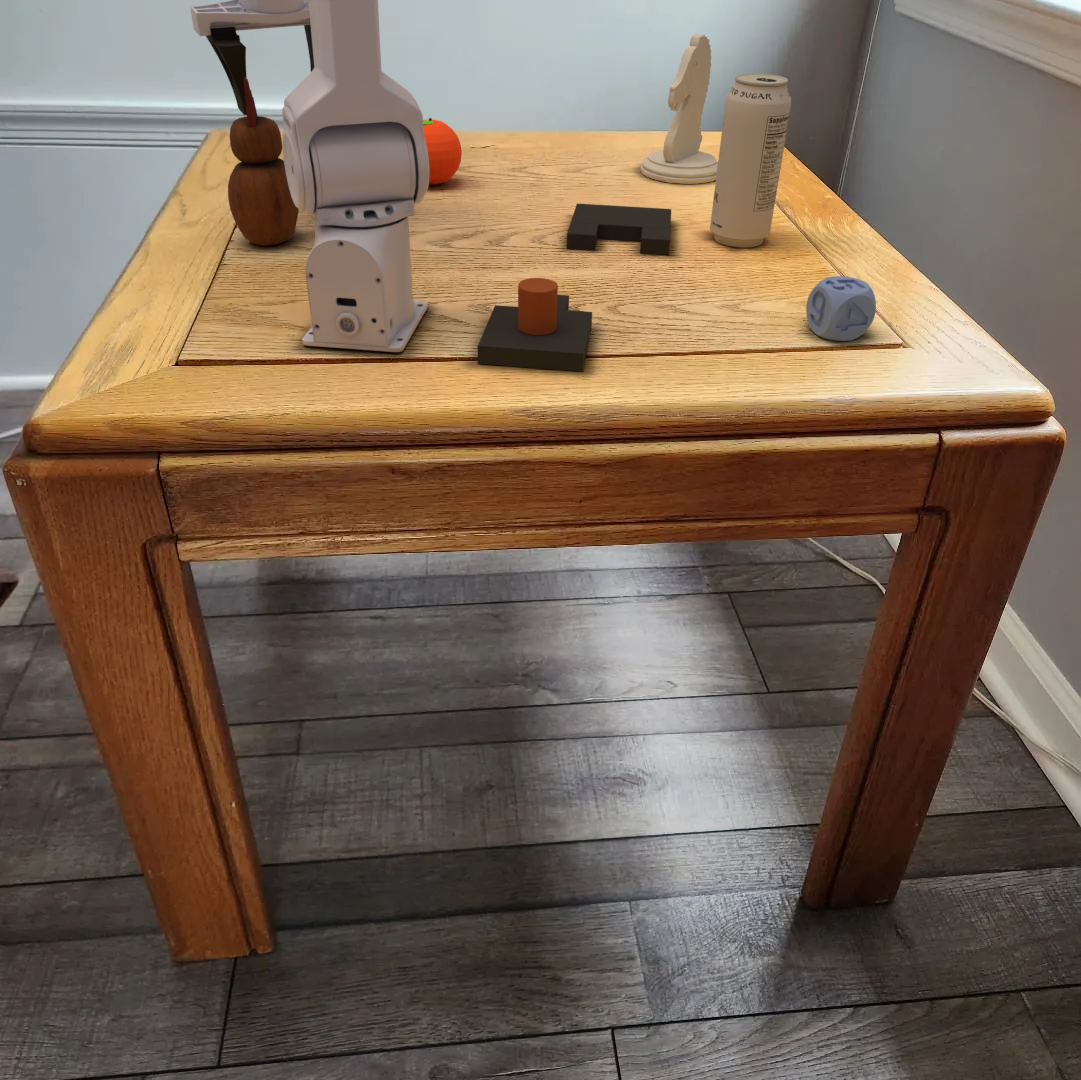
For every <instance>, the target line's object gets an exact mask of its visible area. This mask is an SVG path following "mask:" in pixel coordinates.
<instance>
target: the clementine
mask: <svg viewBox="0 0 1081 1080" xmlns="http://www.w3.org/2000/svg"><path fill="white" fill-rule="evenodd" d="M423 129H424V138H425V141H426V146H427V151H428V158H429V186H431V185H433V186H434V185H435V186H436V185H439V184H443V183H446V182H447V181H449V180H450V179H452V177H454V175H455V174H456V173H457V171H458V170H459V168H460V165H461V163H462V152H463V151H462V145H461V141H460V139H459V137H458V135H457V133H456V131H455V130H454V129H453V128H452V127H451V126H449V125H448V124H447V123H446V122H444V121H442V120H438V119H433V118H432V117H430V118H428V119H423Z"/></svg>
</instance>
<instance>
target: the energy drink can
mask: <svg viewBox="0 0 1081 1080" xmlns="http://www.w3.org/2000/svg"><path fill="white" fill-rule="evenodd" d="M734 80H735V81H734V83H733V86H732V87H731V89H730V90H729V91H728V93H727V94H726V97H725V104H724V105H725V106H724V114H723V121H722V130H721V136H720V145H719V152H718V159H717V160H718V161H717V162H718V167H717V175H716V180H715V183H714V184H715V185H714V193H713V200H712V208H711V216H710V223H709V230H710V231H711V232H712V233H713V234H714V236H713V239H714V240H715V241H716V242H717V243H719V244H721V245H724V246H726V247H727V246H728V247H732V248H742V249H743V248H755V247H758V246H761V245H762V244H763V243H764V240H765V238H767V237H768V236H769V235H770V234H771V229H772V222H773V217H774V211H775V205H776V198H777V194H778V193H777V192H778V186H779V181H780V174H781V168H782V161H783V156H784V148H785V144H786V137H787V131H788V125H789V118H790V113H791V107H792V97H791V95H790V91H789V89H788V83H789V79H788V78H786V77H784V76H782V75H777V74H771V73H741V74H738V75H735V78H734Z"/></svg>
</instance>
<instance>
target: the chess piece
mask: <svg viewBox="0 0 1081 1080" xmlns="http://www.w3.org/2000/svg"><path fill="white" fill-rule="evenodd" d="M711 67H712V49H711V45H710V38H708V36H706V35H705V34H699V33H694V34H692V35H691V36H690V41H689V45H687V46H686V47H685V49H684V50H683V53H682V56H681V59H680V62H679V66H678V69H677V73H676V76H675V78H674V79H673V82H672V83H671V85H670V86H669V91H668V92H669V93H668V98H667V99H668V100H667V105H668V108H669V111H673V112H675V113H674V116H673V118H672V120H671V122H670V125H669V127H668V131H667V132H666V134H665V138H664V141H663V149H659V150H653V151H652V152H649V153H648V154H647V156H646V157H645V158H643V160H642V162H641V165H640V173H641V174H642V175H643V176H645V177H647V178H649V179H651V180H655V181H659V182H664V183H670V184H671V183H672V184H679V185H680V184H681V185H682V184H683V185H693V184H694V185H695V184H697V185H698V184H705V183H711V182H713V181H716V175H717V167H718V161H717V160H718V159H717V157H716V156H714V155H712V154H710V153H708V152H704V151H700V148H701V144H702V141H703V135H702V128H701V126H702V116H703V111H704V106H705V103H706V99H707V93H708V90H709V85H710V78H711Z"/></svg>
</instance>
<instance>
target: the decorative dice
mask: <svg viewBox="0 0 1081 1080" xmlns="http://www.w3.org/2000/svg"><path fill="white" fill-rule="evenodd" d="M806 300H807V301H806V309H805V312H806V319H807V324H808V326H809V329H810V330H811V331H812V332H813V333H814V334H815V335H816V336H818V337H820V338H823V339H826V340H829V341H834V342H848V341H849V342H850V341H854V340H856V339H858V338H859V337H861V336H862V335H864V334H865V333H866V331H868V329H870V327H871V325H872V323H873V322H874V319H875V317H876V311H877V302H876V295H875V292H874V290H873V289H872V287H871V285H870V284H869V283H868V282H866V281H864V280H862V279H860V278H857V277H856V278H855V277H851V276H843V275H840V276H839V275H833V276H827V277H825V278H822V279H821V280H820V281H819V282H817V284H816V285H814V287H813V288H812V290H811V291H810V293H809V294H808V297H807V299H806Z"/></svg>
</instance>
